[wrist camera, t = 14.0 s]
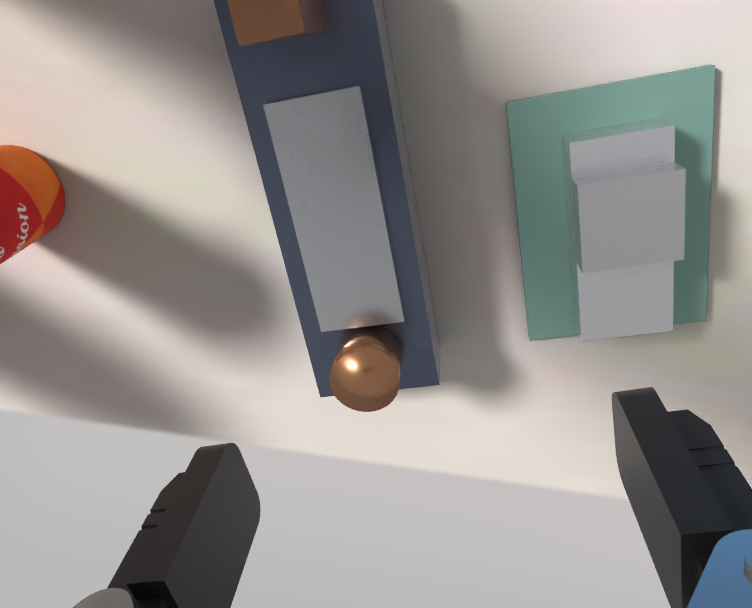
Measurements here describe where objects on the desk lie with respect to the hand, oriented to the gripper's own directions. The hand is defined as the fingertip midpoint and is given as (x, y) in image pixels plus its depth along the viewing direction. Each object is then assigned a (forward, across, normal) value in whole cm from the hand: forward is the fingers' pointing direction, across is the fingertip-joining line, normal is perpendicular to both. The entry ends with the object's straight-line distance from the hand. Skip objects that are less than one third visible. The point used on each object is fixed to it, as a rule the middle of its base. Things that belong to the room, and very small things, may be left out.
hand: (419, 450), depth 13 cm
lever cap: (+22, -9, +5) cm, 25 cm away
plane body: (+23, +4, 0) cm, 24 cm away
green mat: (+23, -9, +4) cm, 25 cm away
